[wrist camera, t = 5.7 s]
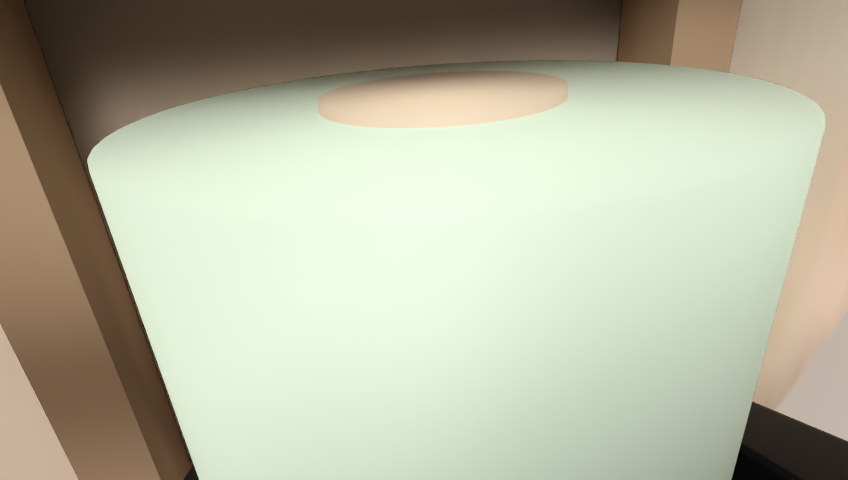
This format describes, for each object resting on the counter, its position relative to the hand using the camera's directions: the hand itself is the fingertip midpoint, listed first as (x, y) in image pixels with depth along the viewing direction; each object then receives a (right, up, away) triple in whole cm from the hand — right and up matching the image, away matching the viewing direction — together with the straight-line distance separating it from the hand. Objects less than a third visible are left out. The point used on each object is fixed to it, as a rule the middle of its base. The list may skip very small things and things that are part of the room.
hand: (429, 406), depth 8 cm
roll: (0, +1, +1) cm, 1 cm away
